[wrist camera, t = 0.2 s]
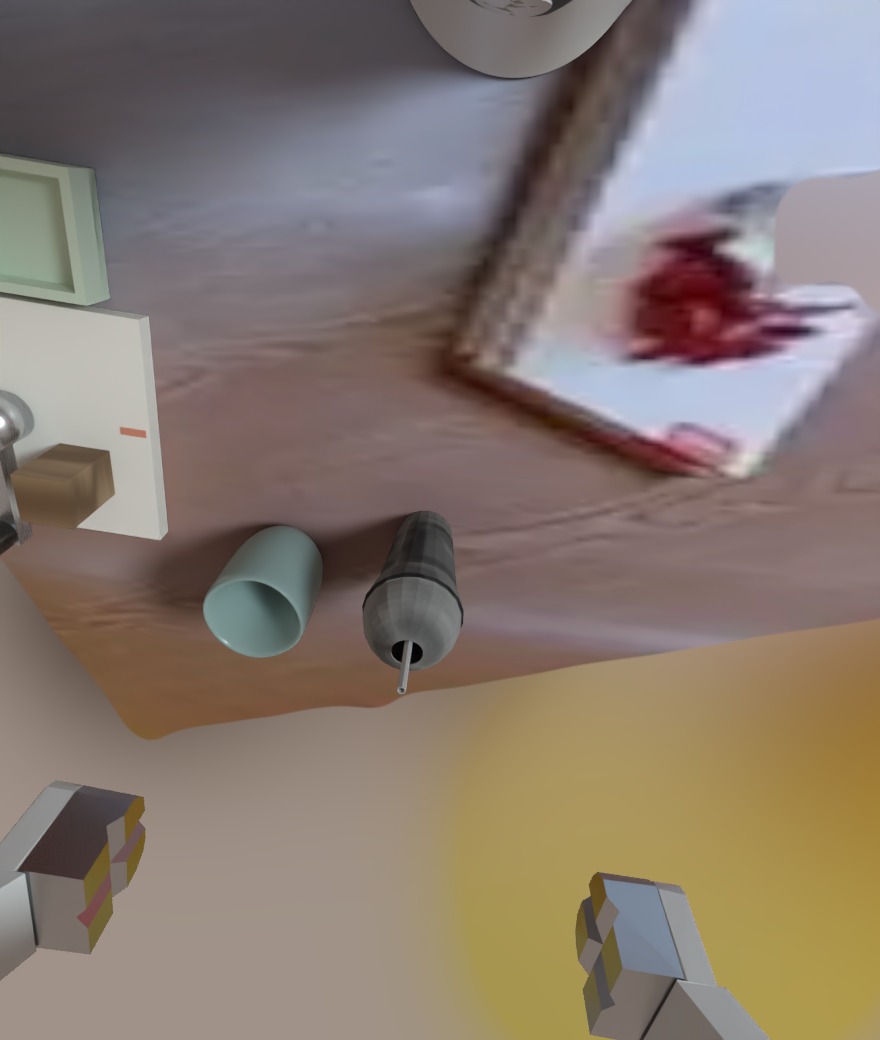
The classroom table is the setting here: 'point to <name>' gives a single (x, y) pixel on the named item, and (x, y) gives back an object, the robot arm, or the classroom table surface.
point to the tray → (51, 231)
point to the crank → (12, 467)
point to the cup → (265, 592)
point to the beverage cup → (415, 598)
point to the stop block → (63, 485)
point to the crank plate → (89, 399)
